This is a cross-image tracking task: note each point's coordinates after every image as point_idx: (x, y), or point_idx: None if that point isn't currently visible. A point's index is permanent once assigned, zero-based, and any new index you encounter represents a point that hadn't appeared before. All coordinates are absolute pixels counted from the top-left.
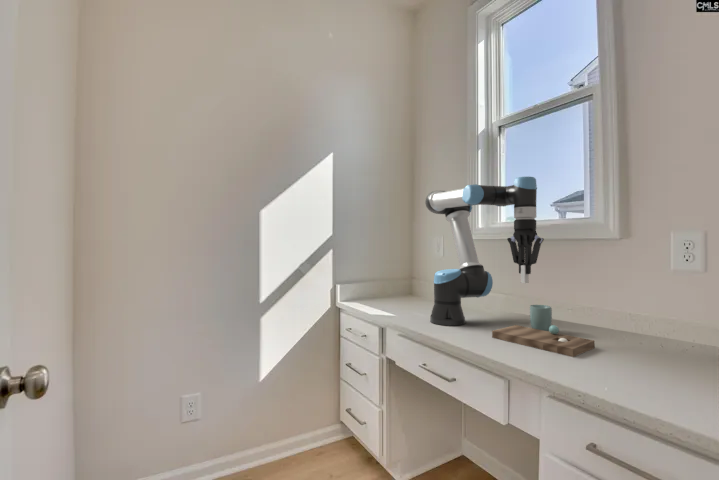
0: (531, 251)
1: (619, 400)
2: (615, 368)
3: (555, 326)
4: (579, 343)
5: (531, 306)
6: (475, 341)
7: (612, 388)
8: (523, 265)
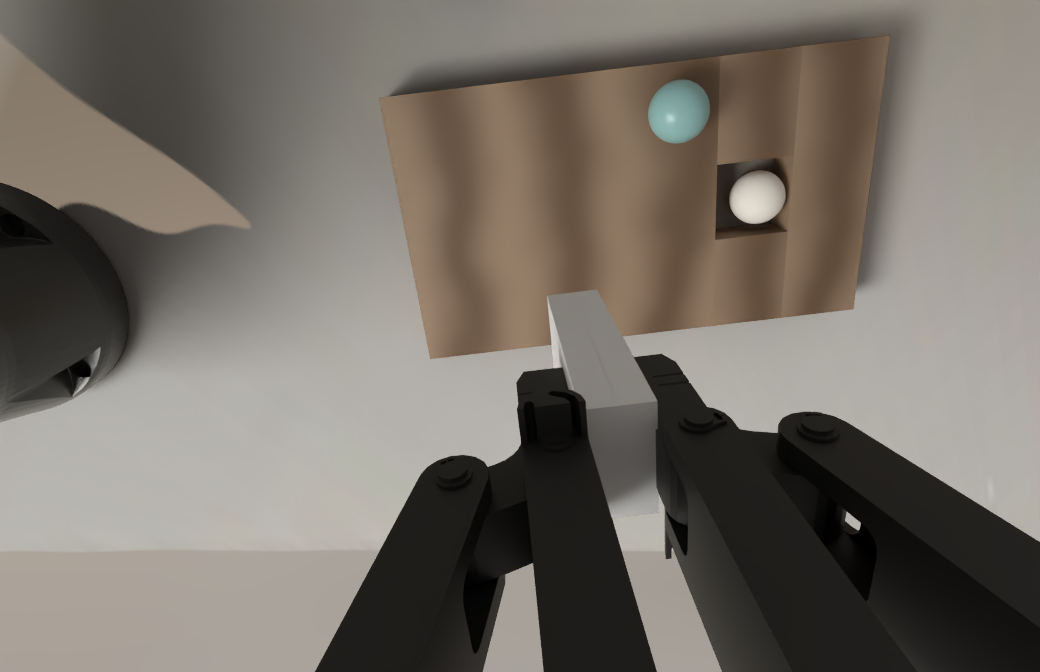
0: (896, 649)
1: (1028, 530)
2: (993, 290)
3: (700, 119)
4: (846, 187)
5: None
6: (448, 455)
7: (1006, 475)
8: (634, 515)
